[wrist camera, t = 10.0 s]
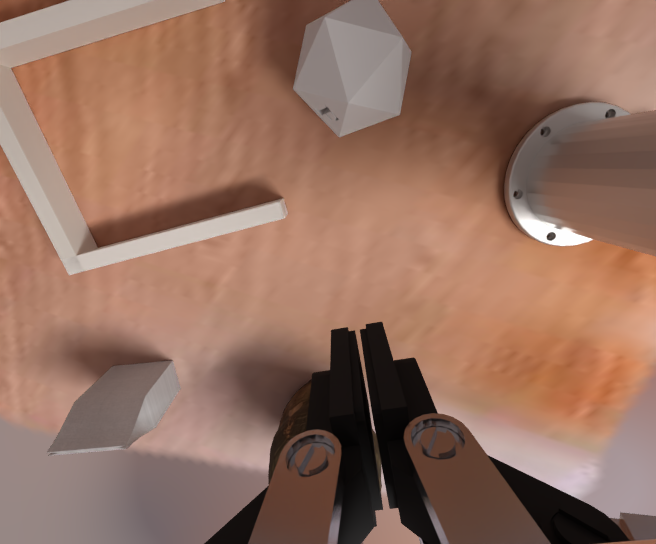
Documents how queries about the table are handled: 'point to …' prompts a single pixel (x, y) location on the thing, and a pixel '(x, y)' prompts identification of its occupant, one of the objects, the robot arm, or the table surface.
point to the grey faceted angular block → (118, 408)
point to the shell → (300, 428)
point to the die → (353, 67)
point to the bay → (35, 155)
